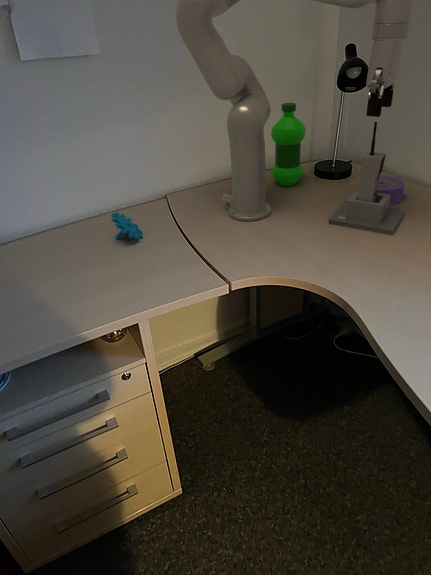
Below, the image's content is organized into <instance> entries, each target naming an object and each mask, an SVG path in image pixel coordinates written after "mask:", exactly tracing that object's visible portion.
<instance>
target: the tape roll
mask: <svg viewBox="0 0 431 575" xmlns="http://www.w3.org/2000/svg"><path fill="white" fill-rule="evenodd" d="M404 192H405V180H403V179H402V178H400V177H397V176H392V175H385V174H384V175H381V174H380V175H379V181H378V189H377V193H383V194H389V195H391V197H390V203H389V206H393V205H398V204H399V203H401V202H402V201H403V196H404Z"/></svg>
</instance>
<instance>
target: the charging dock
mask: <svg viewBox="0 0 431 575" xmlns="http://www.w3.org/2000/svg"><path fill="white" fill-rule="evenodd" d="M358 190H359V189H357V190H356V191H355V192H354V193H353V194H352V196H351V197H349V199H348V200H344V202H342V204H341V205H340V206H339V207H338V208H337V209H336V211H335V212H334V213H333V214H332V215H331V216H330V217H329V219H328V224H329V225H333V226H334V225H335V226H339V227H340V226H341V227H347V228H352V229H355V230H356V229H357V230H361V231H362V230H363V231H367V232H373V233H378V234H383V235H389V236H393V234H394V232H395V231H396V229H397V227H398V226H399V224H400V222H401V220H402V219H403V217H404V216H405V213H406V209H403V208H402V209H401V208H396V207H390V205H389V203H390V197H391V195H389V194H383V193H377V196H376V203H374V202H368V201H361V200H357V199H358Z"/></svg>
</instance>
